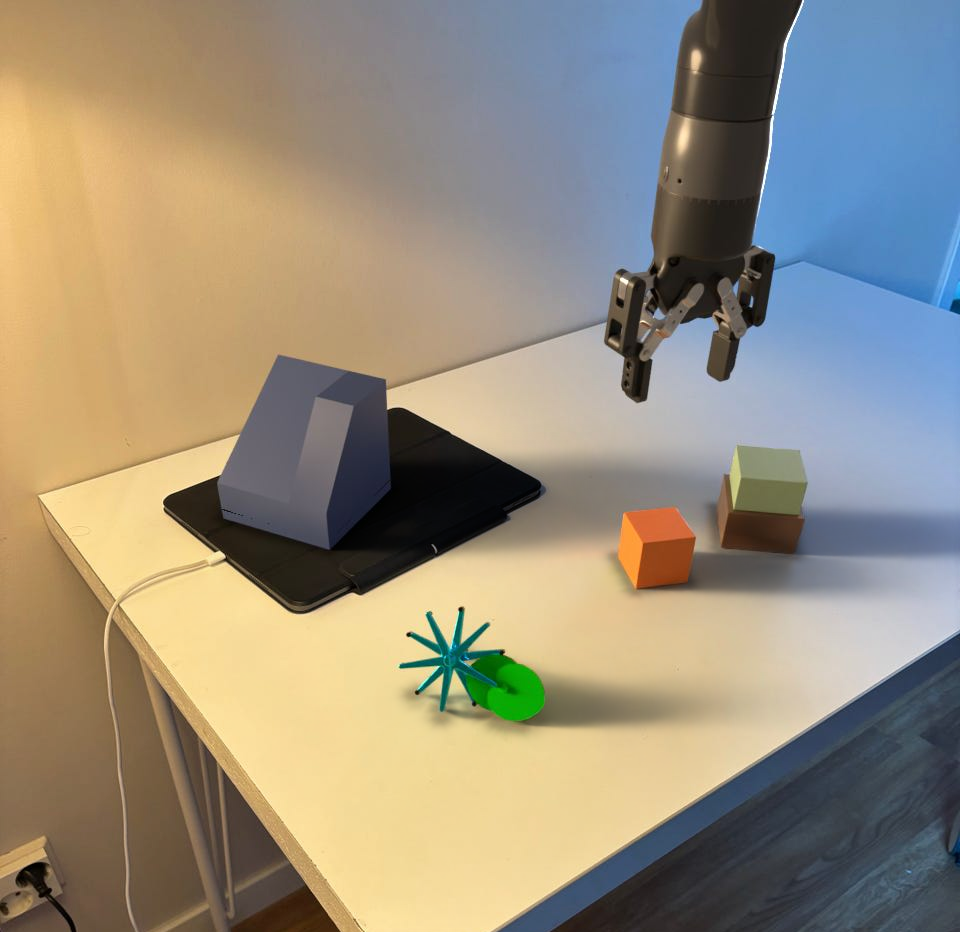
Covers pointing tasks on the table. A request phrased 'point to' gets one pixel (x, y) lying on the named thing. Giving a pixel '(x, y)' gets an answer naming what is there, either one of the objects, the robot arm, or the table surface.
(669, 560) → the toy cube
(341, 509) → the phone stand
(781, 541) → the walnut block
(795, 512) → the green block
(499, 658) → the stick construction toy
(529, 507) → the table surface
